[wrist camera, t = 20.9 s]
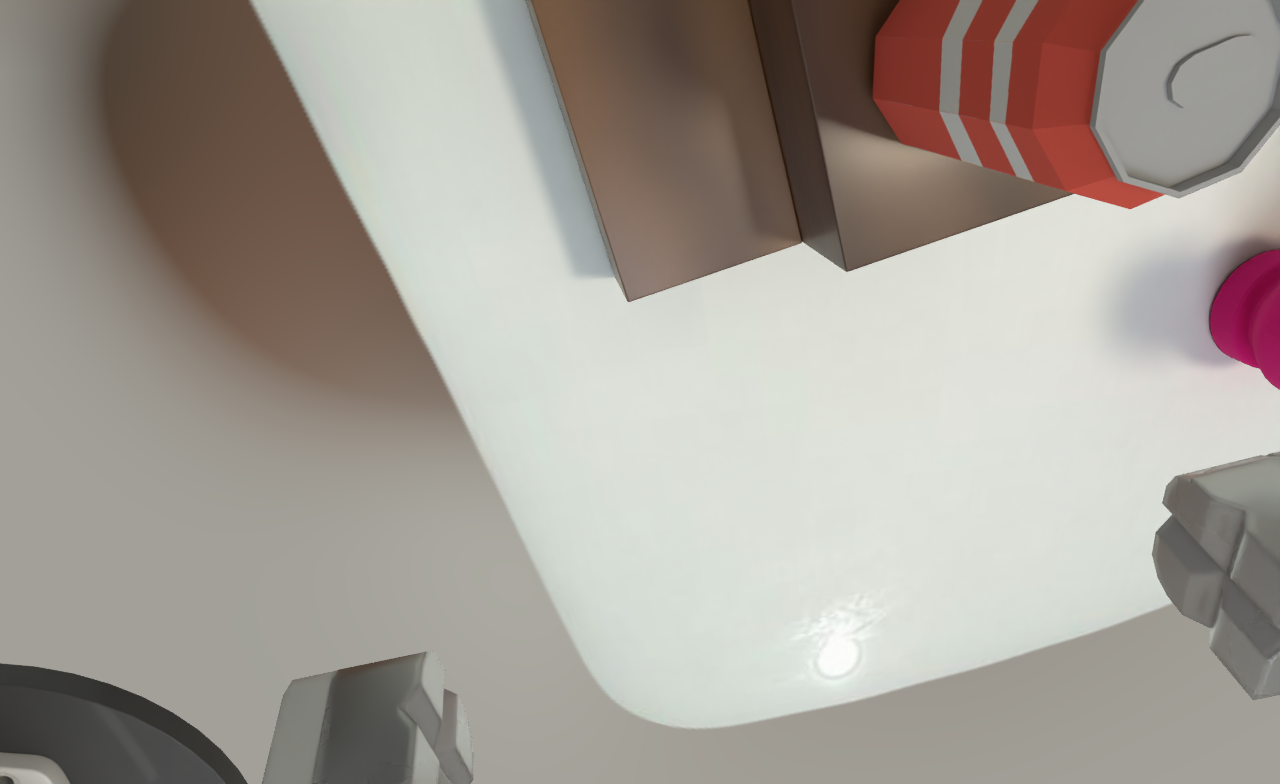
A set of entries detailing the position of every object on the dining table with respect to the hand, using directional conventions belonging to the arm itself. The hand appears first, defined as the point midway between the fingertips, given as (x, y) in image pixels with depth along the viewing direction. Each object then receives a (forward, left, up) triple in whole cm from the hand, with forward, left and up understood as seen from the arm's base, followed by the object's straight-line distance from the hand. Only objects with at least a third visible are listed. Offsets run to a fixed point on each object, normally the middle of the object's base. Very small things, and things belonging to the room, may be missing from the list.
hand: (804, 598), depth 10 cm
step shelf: (+6, +7, -32) cm, 34 cm away
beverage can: (+10, +10, -23) cm, 27 cm away
